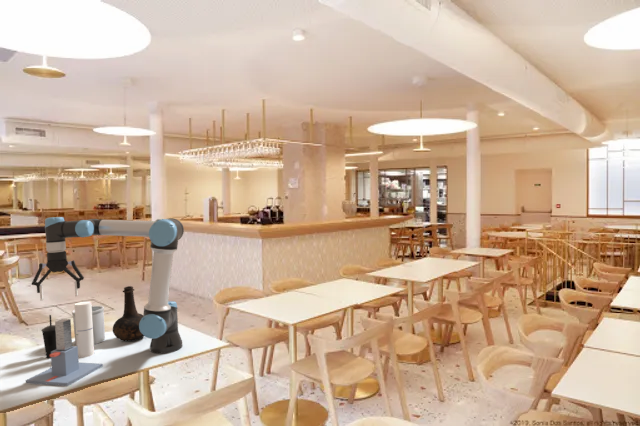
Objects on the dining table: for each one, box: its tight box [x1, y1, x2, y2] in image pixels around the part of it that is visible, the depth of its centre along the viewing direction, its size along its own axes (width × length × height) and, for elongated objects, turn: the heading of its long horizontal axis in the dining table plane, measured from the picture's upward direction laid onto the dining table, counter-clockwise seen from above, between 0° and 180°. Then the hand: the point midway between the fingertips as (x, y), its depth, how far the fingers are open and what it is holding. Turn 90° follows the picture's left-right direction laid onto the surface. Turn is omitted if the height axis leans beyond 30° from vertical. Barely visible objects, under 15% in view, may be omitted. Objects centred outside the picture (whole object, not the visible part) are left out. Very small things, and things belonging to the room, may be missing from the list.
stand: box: [25, 345, 104, 387], centre depth 183 cm, size 20×20×11 cm
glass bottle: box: [112, 285, 145, 342], centre depth 228 cm, size 18×18×28 cm
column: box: [54, 318, 73, 351], centre depth 183 cm, size 4×4×22 cm
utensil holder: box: [71, 305, 106, 346], centre depth 225 cm, size 15×15×18 cm
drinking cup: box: [40, 314, 57, 359], centre depth 205 cm, size 8×8×20 cm
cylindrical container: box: [73, 300, 95, 358], centre depth 206 cm, size 7×7×25 cm
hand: (59, 297), depth 195 cm, fingers open, 13 cm apart
